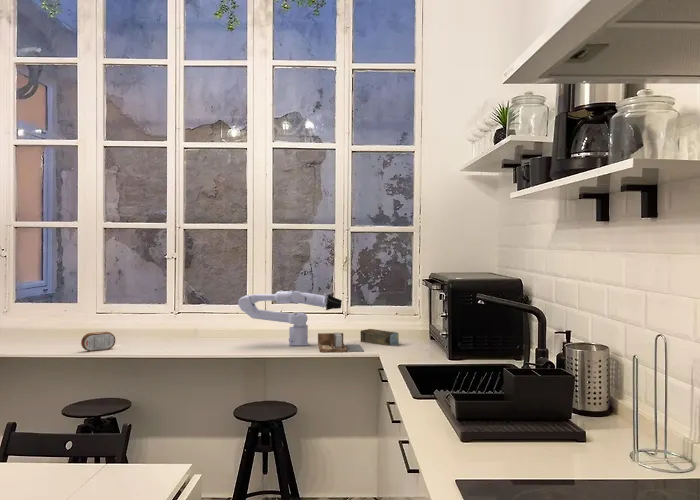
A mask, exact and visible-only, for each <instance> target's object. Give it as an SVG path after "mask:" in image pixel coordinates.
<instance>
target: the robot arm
mask: <svg viewBox="0 0 700 500" xmlns="http://www.w3.org/2000/svg"><path fill="white" fill-rule="evenodd" d="M326 294H327V293H325V292H324V294H323V295H322V294H317V293H316V294H315V293H310V292H309V293H308V292H304V291H303V292H301V291H299V290H293V289H291V290H289V291H288V290H286V291H285V290H284V291H283V290H281V289H280V290H279V291H276V292H275V293H253V294H246V295H243V296H241V297H240V298H239V299H238V301H237V302H238V303H237V304H238V307H239V308H240V310H241V311H242V312H244V313H245V314H247V316H249V317H250V318H251V319H253V320H255V319H256V320H263V321H270V322H280V323H287V324H290V325H292V326H289V328H288V332H289V338H288V343H289V346H290V347H291V346H296V347H297V346H309V345H310V343H309V341H308V339H309V337H308V336H309V327H308V325H307V322H308V315H307V314H306V313H305V312H302V311H300V312H297V313H294V312H290V313H289V312H281V311H273V310H268V309H267V310H266V309H259V308H258V307H257V305H256V303H258V302H266V301H267V302H268V301H269V302H270V301H271V302H272V301H275V302H276V304H277V303H278V304H289V303H290V304H291V303H293V304H303V305H308V306H314V307H320V308H325V311H329V310H335V309H341V308H342V302H343V300H341V299H340V298H336V297H334V296H333V295H331V294H330V293H328V296H327V295H326Z"/></svg>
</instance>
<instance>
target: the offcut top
mask: <svg viewBox="0 0 700 500" xmlns="http://www.w3.org/2000/svg"><path fill="white" fill-rule="evenodd" d="M322 348H323V349H332V347H331V346H329V345H322Z"/></svg>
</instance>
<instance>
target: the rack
mask: <svg viewBox="0 0 700 500" xmlns="http://www.w3.org/2000/svg"><path fill="white" fill-rule="evenodd" d="M334 333H335V332H327V333H325V332H323V333H322V332H320V333H319V332H317V346H318V350H319V353H347V352H348V349H347V347H346V346H345V343H344V333H343V332H339V333H340V334H341V335H342V349H335V348H334V346H333V345H334ZM322 345H331V346H330V348H331V349H323V348H322Z"/></svg>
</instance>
